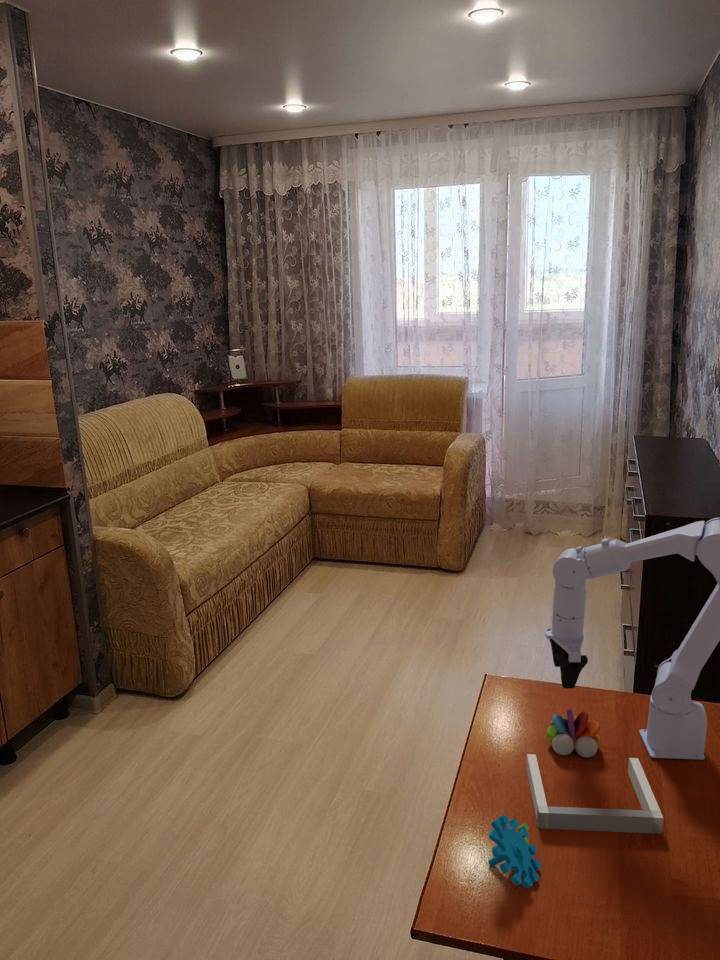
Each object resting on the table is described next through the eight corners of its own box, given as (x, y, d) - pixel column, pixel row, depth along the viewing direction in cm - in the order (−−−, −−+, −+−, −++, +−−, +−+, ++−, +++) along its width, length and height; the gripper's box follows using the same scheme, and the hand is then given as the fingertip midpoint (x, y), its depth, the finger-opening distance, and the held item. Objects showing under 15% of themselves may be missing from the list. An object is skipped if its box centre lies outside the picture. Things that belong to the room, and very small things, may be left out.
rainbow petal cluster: (602, 763, 133) (605, 728, 131) (546, 757, 135) (548, 722, 133) (597, 734, 141) (600, 701, 139) (545, 729, 143) (547, 696, 141)
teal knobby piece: (531, 899, 103) (486, 835, 106) (500, 914, 106) (457, 851, 108) (553, 855, 113) (512, 797, 115) (524, 870, 116) (484, 812, 118)
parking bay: (636, 772, 131) (638, 758, 130) (661, 833, 117) (663, 817, 116) (526, 768, 132) (527, 754, 131) (538, 828, 118) (539, 812, 118)
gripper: (539, 595, 147) (536, 656, 151) (554, 630, 133) (550, 697, 137) (576, 595, 146) (571, 657, 150) (594, 631, 132) (589, 697, 136)
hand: (564, 676), depth 143 cm, fingers open, 7 cm apart
